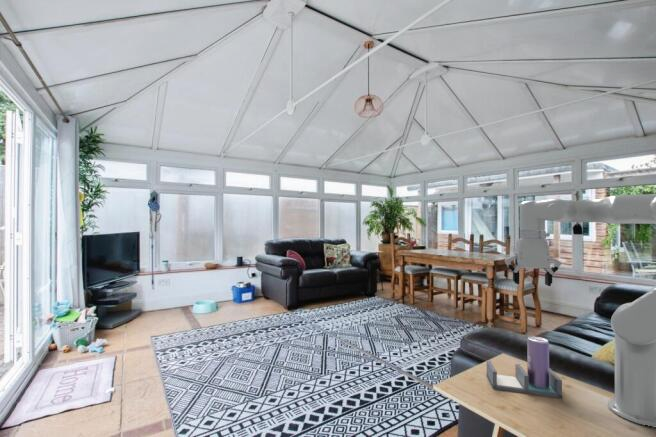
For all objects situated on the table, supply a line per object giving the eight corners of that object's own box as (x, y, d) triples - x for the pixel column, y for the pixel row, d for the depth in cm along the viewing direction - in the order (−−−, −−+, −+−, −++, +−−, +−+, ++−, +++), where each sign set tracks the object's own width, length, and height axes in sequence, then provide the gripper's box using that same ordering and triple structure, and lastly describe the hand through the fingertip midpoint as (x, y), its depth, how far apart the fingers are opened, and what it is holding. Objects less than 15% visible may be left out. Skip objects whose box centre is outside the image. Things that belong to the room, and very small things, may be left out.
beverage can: (552, 390, 99) (552, 343, 99) (532, 388, 100) (532, 341, 101) (543, 381, 105) (543, 336, 105) (524, 379, 106) (524, 335, 106)
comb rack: (549, 384, 105) (549, 368, 106) (562, 398, 97) (561, 380, 97) (486, 375, 111) (486, 360, 111) (492, 388, 102) (492, 371, 102)
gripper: (555, 236, 111) (555, 284, 110) (502, 235, 116) (501, 281, 115) (565, 236, 104) (565, 288, 103) (507, 235, 108) (507, 284, 108)
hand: (532, 284), depth 109 cm, fingers open, 9 cm apart
